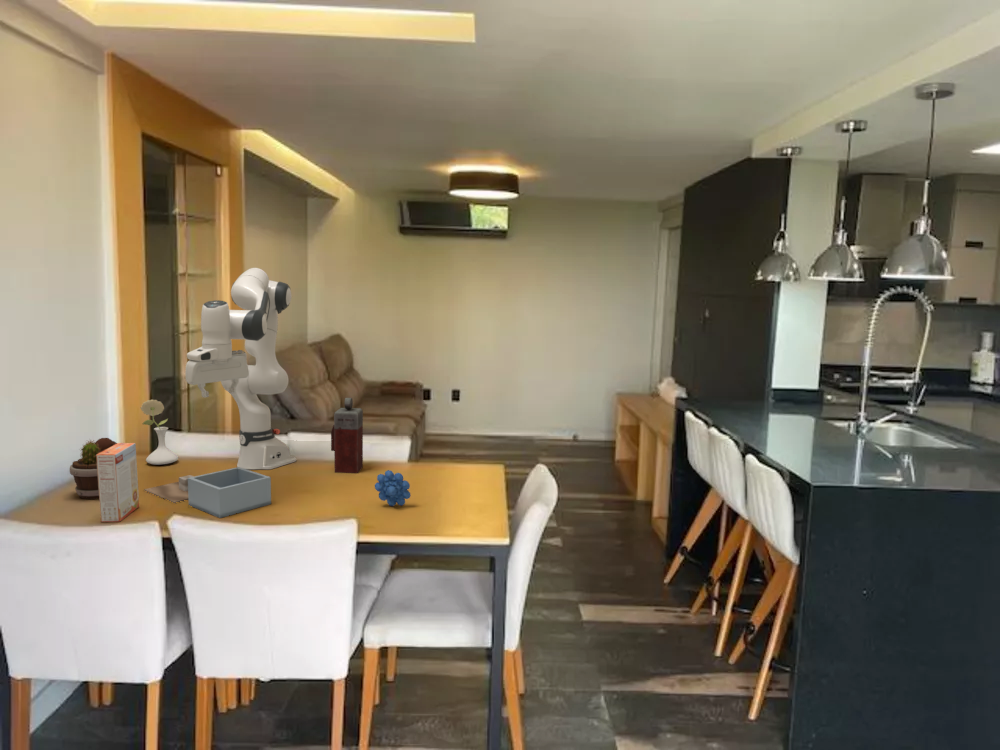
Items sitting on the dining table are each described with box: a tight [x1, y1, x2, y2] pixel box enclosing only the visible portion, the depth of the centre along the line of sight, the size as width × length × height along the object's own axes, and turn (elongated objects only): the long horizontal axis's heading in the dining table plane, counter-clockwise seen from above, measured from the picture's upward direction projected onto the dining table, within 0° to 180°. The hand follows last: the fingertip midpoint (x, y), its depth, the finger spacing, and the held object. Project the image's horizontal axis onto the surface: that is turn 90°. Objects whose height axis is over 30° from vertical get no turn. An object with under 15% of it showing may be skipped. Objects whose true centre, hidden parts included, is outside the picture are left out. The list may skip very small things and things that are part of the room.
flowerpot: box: [69, 439, 101, 500], centre depth 231 cm, size 14×15×20 cm
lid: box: [143, 474, 195, 504], centre depth 240 cm, size 20×20×5 cm
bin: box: [188, 467, 272, 519], centre depth 226 cm, size 18×18×9 cm
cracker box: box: [96, 442, 140, 523], centre depth 213 cm, size 14×6×21 cm, turn 5°
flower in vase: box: [140, 399, 179, 466], centre depth 271 cm, size 13×11×25 cm
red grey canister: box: [330, 397, 364, 474], centre depth 268 cm, size 9×11×28 cm
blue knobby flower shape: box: [374, 469, 411, 507], centre depth 228 cm, size 12×7×12 cm, turn 92°
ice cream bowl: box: [94, 437, 118, 453], centre depth 250 cm, size 11×11×15 cm
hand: (219, 394), depth 226 cm, fingers open, 8 cm apart
